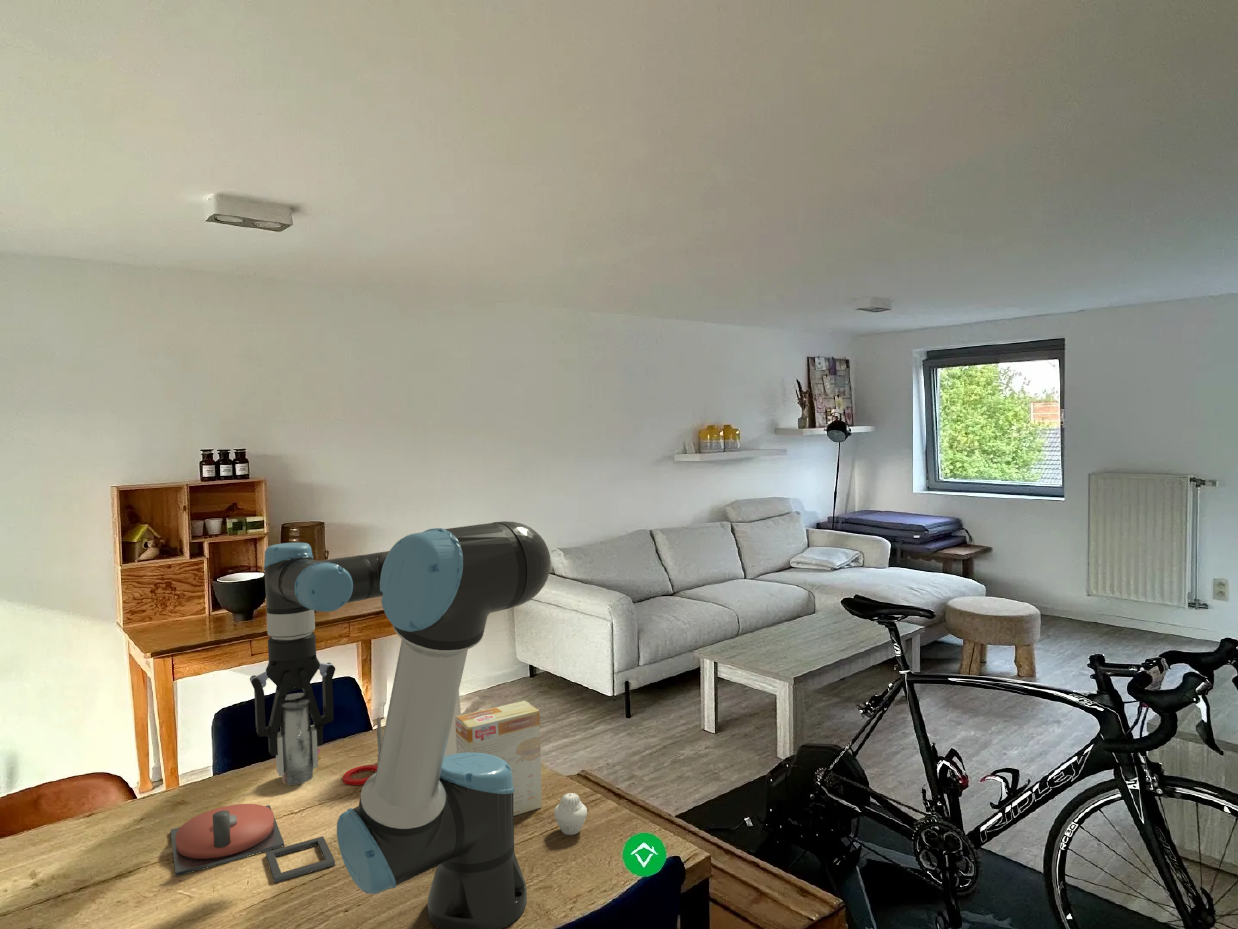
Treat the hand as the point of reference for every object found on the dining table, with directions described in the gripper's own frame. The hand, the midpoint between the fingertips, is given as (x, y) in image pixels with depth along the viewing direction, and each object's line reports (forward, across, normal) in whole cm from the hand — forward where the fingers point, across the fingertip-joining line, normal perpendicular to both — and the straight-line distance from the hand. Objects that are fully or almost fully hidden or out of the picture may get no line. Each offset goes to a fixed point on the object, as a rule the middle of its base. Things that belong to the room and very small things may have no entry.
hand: (297, 768), depth 135 cm
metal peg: (+2, 0, 0) cm, 2 cm away
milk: (+16, -33, -30) cm, 47 cm away
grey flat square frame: (+16, 0, 0) cm, 16 cm away
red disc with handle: (+16, +10, -16) cm, 25 cm away
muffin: (+17, -44, +16) cm, 50 cm away
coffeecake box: (+17, -36, +2) cm, 40 cm away
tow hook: (+17, -18, -28) cm, 37 cm away
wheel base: (+16, +10, -16) cm, 25 cm away
